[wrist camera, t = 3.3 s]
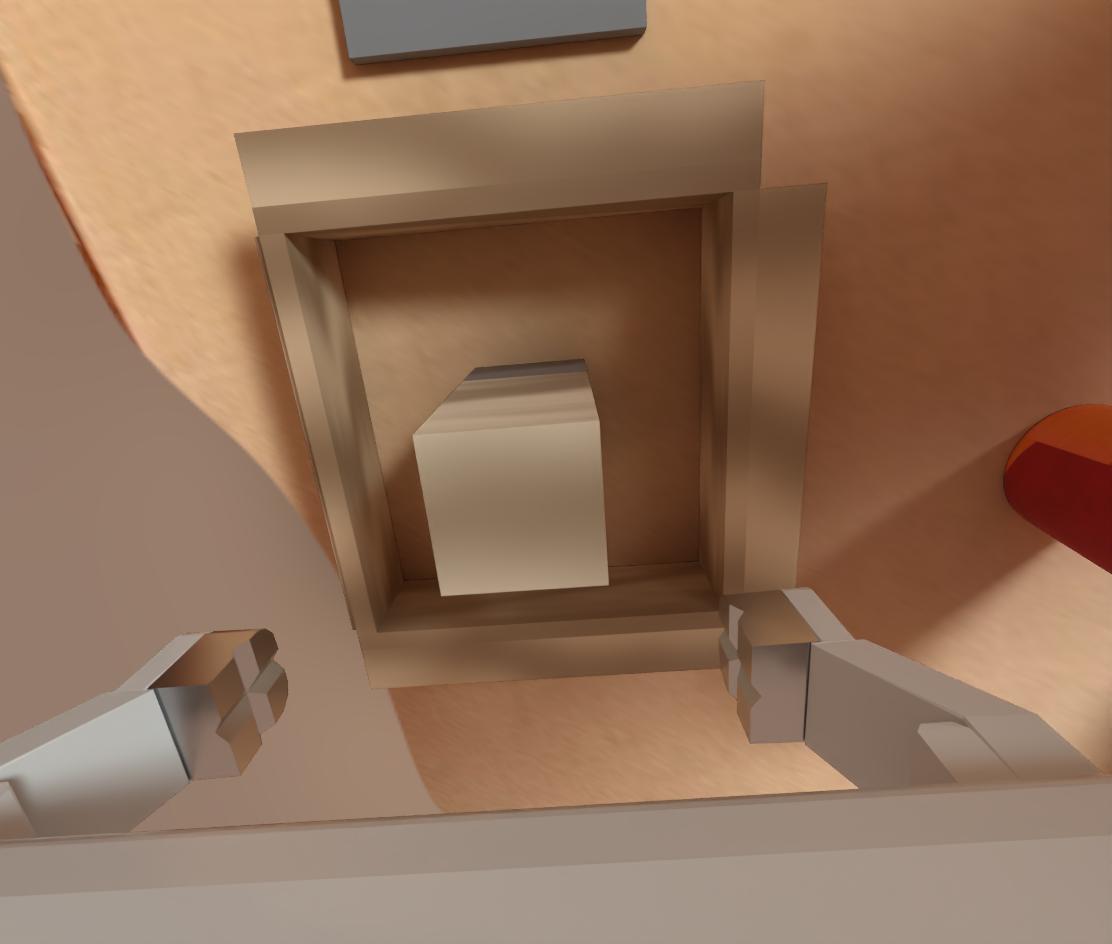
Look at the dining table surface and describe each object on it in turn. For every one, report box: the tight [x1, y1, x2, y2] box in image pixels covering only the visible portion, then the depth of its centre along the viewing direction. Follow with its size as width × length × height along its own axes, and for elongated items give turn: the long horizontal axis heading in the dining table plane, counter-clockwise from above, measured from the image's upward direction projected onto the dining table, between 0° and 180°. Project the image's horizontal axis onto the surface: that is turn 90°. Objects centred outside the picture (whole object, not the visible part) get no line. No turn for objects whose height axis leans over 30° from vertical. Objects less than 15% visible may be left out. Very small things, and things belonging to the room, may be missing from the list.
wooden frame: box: [234, 80, 827, 689], centre depth 21 cm, size 21×18×4 cm
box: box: [412, 359, 609, 596], centre depth 18 cm, size 4×4×10 cm
